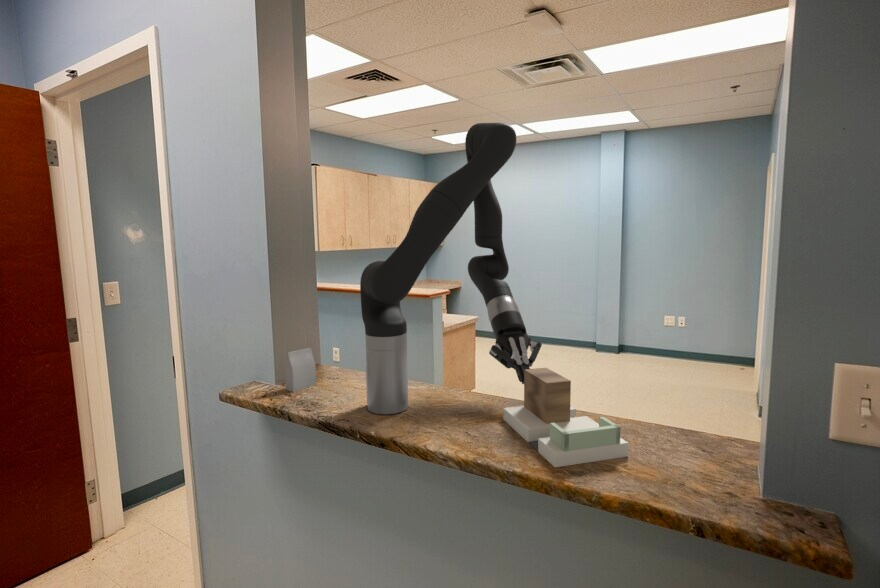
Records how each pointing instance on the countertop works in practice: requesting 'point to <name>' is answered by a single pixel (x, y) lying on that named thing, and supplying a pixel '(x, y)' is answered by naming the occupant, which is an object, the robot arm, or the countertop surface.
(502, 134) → the robot arm
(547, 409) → the walnut block
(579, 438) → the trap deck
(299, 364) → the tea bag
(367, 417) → the countertop surface
